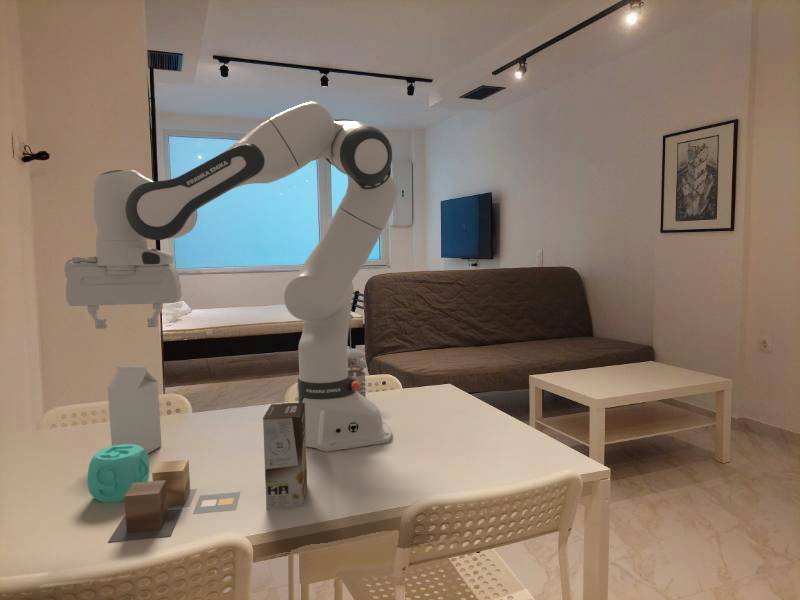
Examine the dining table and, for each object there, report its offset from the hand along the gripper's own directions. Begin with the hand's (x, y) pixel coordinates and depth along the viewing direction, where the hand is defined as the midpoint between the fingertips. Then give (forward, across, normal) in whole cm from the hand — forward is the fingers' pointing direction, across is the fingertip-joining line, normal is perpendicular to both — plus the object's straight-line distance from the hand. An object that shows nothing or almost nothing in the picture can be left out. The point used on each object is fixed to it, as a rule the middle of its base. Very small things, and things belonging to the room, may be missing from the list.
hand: (127, 327), depth 110 cm
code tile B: (+29, +10, -15) cm, 34 cm away
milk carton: (+29, -3, +12) cm, 32 cm away
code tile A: (+29, +18, -18) cm, 39 cm away
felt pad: (+29, +8, -24) cm, 39 cm away
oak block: (+29, +10, -15) cm, 34 cm away
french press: (+29, +47, +41) cm, 69 cm away
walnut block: (+29, +8, -24) cm, 38 cm away
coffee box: (+29, +30, -18) cm, 46 cm away
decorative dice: (+29, 0, -10) cm, 31 cm away
